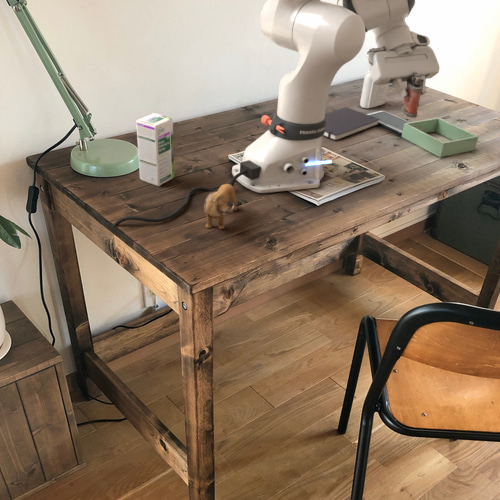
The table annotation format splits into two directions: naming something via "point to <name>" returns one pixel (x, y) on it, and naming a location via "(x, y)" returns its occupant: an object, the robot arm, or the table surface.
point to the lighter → (412, 96)
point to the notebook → (347, 123)
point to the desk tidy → (460, 137)
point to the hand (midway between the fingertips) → (414, 95)
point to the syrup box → (155, 148)
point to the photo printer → (372, 93)
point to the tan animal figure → (219, 204)
